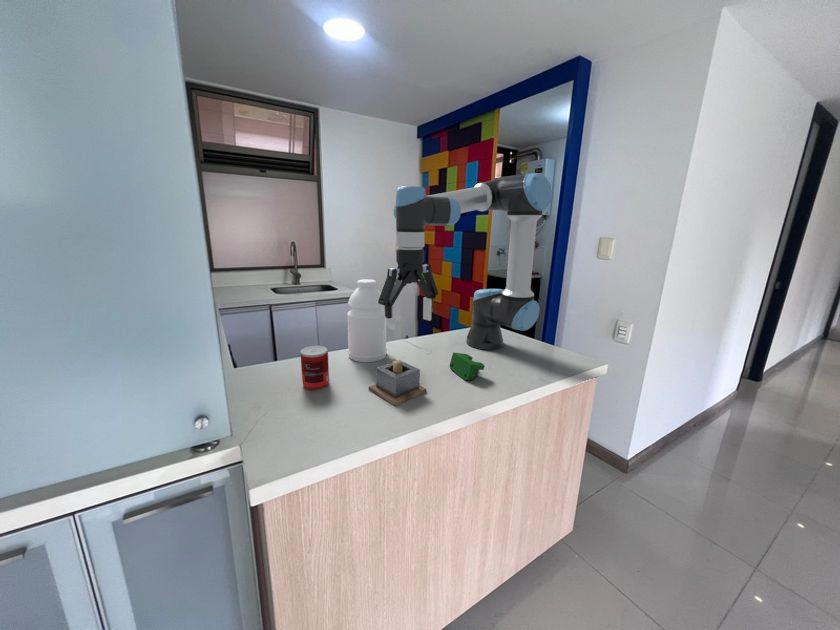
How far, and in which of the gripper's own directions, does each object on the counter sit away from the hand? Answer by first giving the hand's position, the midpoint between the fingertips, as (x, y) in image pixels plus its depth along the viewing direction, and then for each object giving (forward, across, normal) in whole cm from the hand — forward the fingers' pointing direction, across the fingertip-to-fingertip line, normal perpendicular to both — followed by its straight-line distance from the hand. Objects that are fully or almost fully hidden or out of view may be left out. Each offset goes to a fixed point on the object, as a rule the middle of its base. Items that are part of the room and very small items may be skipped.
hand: (410, 324), depth 95 cm
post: (+20, +4, -1) cm, 20 cm away
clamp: (+21, -21, +5) cm, 30 cm away
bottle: (+20, -5, -29) cm, 35 cm away
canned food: (+20, +20, -20) cm, 34 cm away
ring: (+19, +4, -1) cm, 19 cm away
